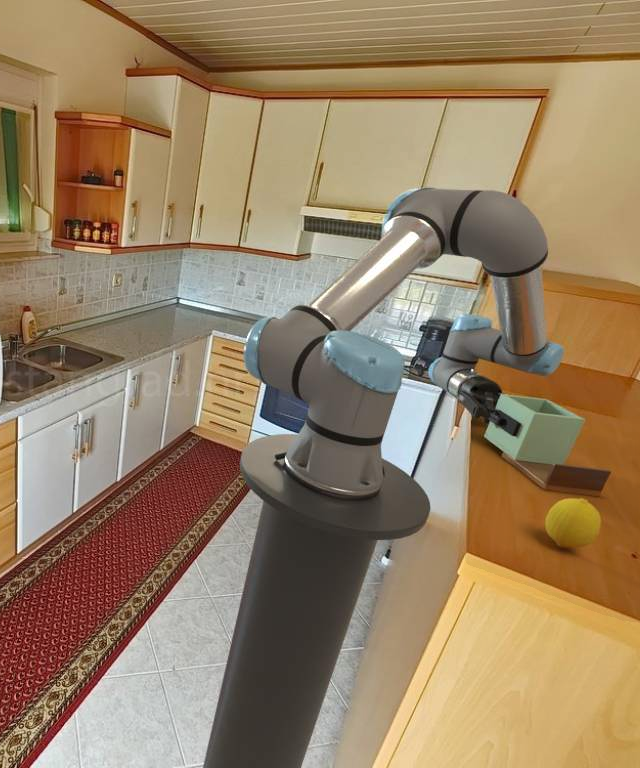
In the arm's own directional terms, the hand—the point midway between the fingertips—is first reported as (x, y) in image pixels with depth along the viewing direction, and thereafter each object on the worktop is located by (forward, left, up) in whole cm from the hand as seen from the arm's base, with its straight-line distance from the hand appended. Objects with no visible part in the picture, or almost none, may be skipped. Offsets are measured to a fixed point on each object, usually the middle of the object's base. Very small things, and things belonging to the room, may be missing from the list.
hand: (543, 433), depth 93 cm
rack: (+2, -4, -7) cm, 8 cm away
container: (-1, +3, -5) cm, 6 cm away
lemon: (-4, -31, -7) cm, 32 cm away
